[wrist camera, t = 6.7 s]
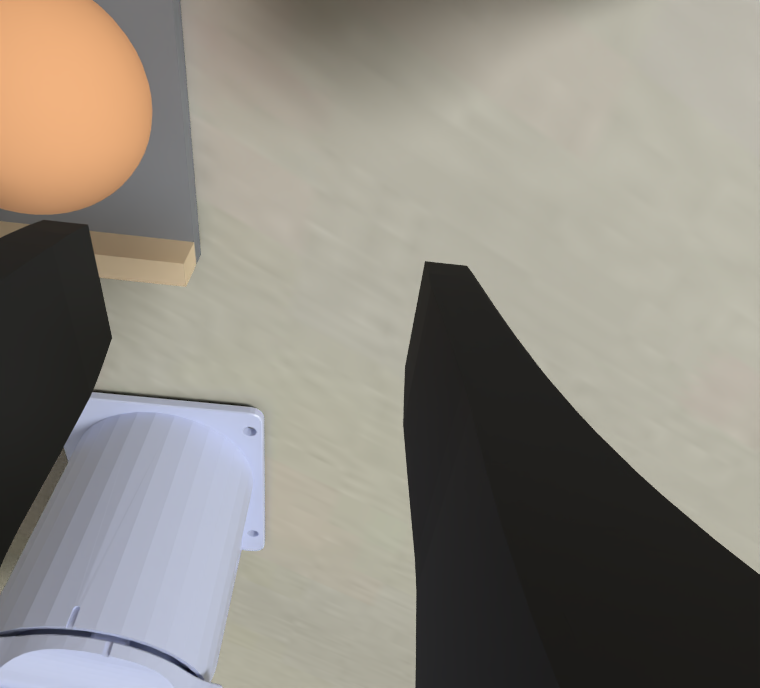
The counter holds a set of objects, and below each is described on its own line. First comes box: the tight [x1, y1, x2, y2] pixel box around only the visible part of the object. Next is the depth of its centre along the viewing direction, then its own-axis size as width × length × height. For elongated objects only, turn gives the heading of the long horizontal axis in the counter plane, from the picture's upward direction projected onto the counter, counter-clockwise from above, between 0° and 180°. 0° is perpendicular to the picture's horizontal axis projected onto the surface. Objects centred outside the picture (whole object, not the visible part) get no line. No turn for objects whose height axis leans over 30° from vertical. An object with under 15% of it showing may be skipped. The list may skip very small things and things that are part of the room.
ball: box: [0, 0, 152, 215], centre depth 14 cm, size 5×5×5 cm
